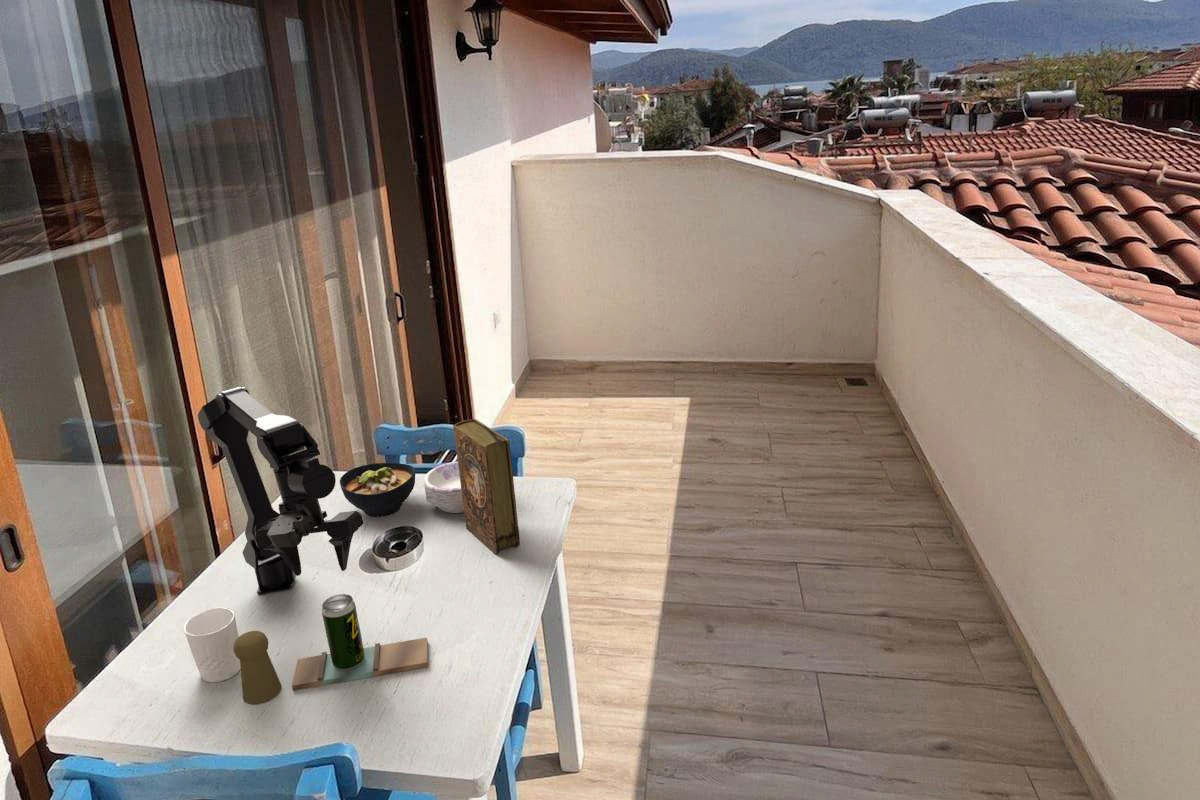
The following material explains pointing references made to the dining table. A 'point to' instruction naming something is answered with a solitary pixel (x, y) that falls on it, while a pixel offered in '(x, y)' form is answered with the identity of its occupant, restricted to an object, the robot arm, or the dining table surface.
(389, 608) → the dining table surface
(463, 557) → the dining table surface
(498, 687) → the dining table surface
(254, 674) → the cork
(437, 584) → the dining table surface
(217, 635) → the white cup
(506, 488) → the book
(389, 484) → the bowl
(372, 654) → the board
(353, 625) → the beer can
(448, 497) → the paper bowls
